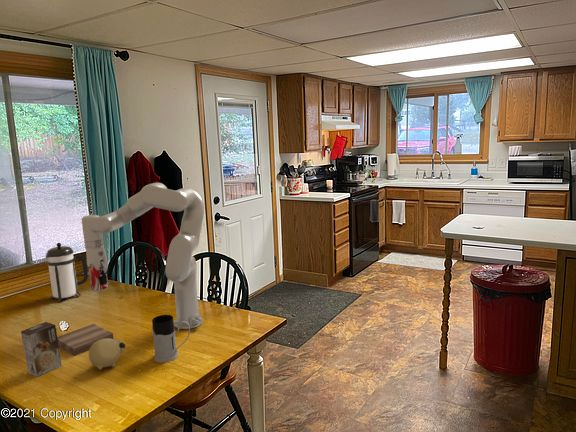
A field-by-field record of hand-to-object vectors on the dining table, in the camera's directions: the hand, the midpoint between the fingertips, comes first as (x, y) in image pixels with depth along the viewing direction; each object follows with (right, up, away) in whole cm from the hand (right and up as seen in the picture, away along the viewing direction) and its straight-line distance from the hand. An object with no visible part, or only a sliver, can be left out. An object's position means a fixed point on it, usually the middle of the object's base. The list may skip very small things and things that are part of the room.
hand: (99, 282), depth 187 cm
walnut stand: (0, -22, -14) cm, 26 cm away
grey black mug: (+40, -23, -28) cm, 54 cm away
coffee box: (-4, -26, -34) cm, 43 cm away
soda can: (0, -3, +1) cm, 4 cm away
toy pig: (+18, -25, -33) cm, 45 cm away
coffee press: (-35, -14, +41) cm, 55 cm away
